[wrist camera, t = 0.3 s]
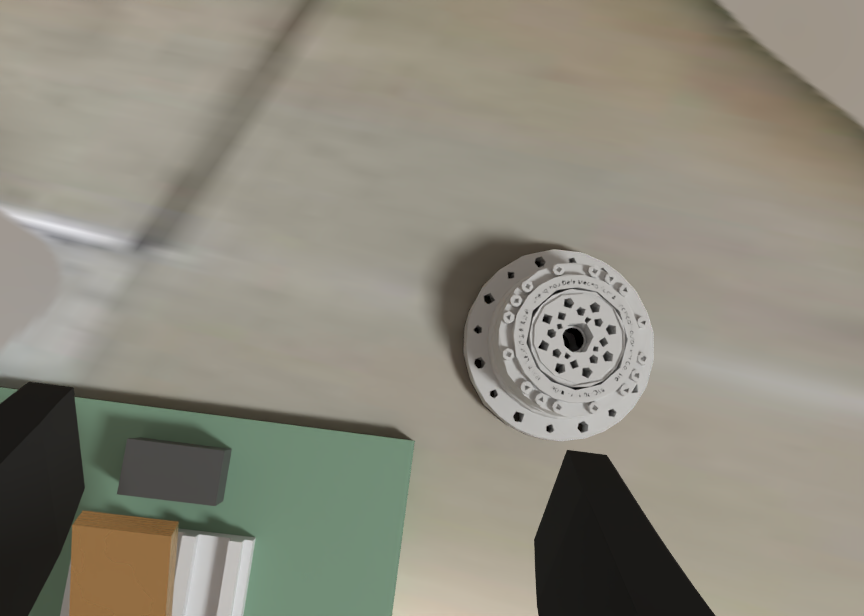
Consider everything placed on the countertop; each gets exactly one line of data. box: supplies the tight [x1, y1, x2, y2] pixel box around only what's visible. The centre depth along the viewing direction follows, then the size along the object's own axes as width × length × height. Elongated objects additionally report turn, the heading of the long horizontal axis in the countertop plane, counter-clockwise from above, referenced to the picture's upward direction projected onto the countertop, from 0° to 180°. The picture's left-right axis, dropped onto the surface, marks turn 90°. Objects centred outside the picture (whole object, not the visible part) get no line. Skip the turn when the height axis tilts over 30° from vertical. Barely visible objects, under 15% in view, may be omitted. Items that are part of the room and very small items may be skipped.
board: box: [0, 387, 415, 616], centre depth 35 cm, size 18×22×5 cm
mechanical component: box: [463, 249, 654, 441], centre depth 39 cm, size 10×4×10 cm
